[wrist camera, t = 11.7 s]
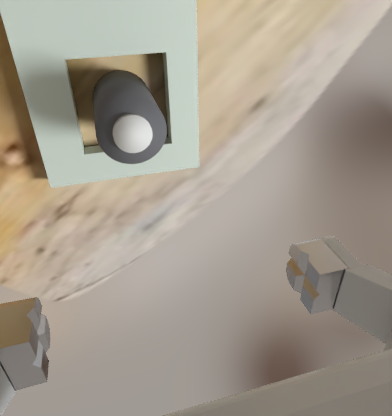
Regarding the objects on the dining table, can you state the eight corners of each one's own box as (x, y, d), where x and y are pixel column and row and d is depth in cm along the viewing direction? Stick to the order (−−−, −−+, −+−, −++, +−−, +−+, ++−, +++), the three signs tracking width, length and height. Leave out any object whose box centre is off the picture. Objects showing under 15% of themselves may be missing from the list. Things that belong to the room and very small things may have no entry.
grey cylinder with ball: (87, 72, 26) (89, 103, 20) (147, 68, 27) (165, 95, 21) (98, 129, 29) (102, 171, 23) (152, 123, 30) (170, 162, 24)
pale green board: (52, 179, 30) (50, 187, 29) (-42, -154, 19) (-51, -163, 17) (194, 159, 32) (199, 166, 31) (187, -145, 21) (194, -152, 20)
